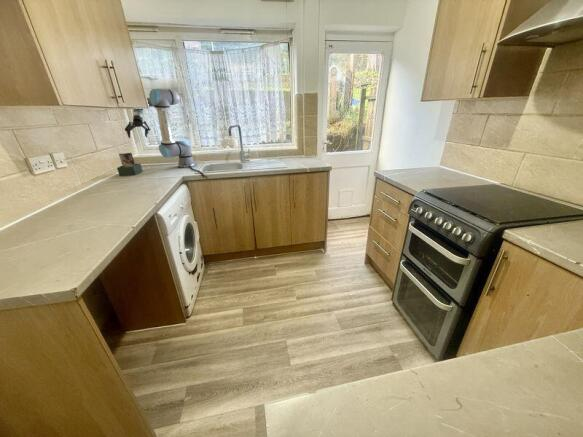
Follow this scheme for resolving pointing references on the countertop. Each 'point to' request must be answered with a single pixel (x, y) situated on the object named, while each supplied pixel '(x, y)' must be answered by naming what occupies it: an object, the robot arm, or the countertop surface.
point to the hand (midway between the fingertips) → (137, 136)
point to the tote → (129, 170)
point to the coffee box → (127, 160)
